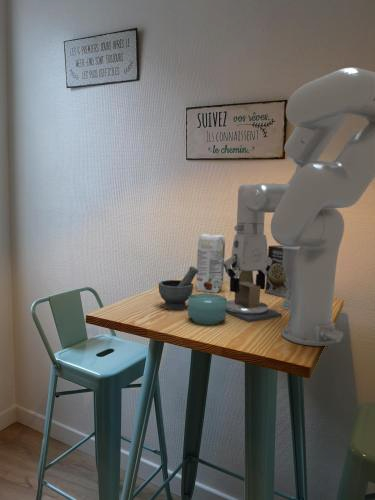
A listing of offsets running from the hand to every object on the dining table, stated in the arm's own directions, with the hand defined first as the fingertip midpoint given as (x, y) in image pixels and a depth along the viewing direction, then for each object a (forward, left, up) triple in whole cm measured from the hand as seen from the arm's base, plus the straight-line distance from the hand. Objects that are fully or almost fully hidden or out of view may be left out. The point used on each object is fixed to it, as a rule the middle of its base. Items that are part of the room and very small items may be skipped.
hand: (247, 290), depth 121 cm
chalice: (-2, -15, -7) cm, 17 cm away
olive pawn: (+19, -16, -7) cm, 25 cm away
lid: (0, 0, -6) cm, 6 cm away
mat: (+1, 0, -6) cm, 6 cm away
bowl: (-1, +15, -6) cm, 16 cm away
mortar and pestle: (+13, +15, -7) cm, 21 cm away
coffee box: (+11, -25, -7) cm, 28 cm away
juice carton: (+26, -6, -7) cm, 27 cm away
